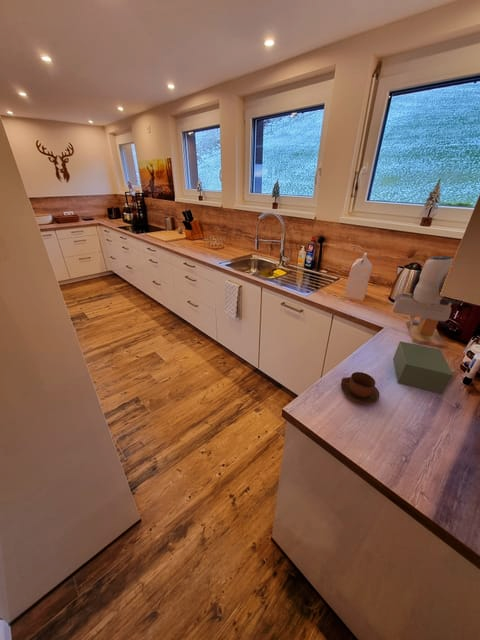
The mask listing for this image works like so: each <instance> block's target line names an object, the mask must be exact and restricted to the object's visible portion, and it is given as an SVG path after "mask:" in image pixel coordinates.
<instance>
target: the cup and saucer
mask: <svg viewBox="0 0 480 640" xmlns="http://www.w3.org/2000/svg"><path fill="white" fill-rule="evenodd" d="M340 389H341V391H342V392H343V394H344V395H345V396H346V397H347V398H349V399H350V400H352V401H354V402H356V403H359V404H365V405H366V404H367V405H370V404H375V403H376V402H377V401H378V400H379V399H380V395H381V394H380V392H379V389H378V388H377V387H376V380H375V379H374V377H373V376H371V375H370V374H368V373H365V372H362V371H356V372H355V371H354V372H353V373H351V375H350V376H349V377H346V376H345V377H343V378H341V381H340Z"/></svg>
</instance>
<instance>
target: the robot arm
mask: <svg viewBox="0 0 480 640" xmlns="http://www.w3.org/2000/svg"><path fill="white" fill-rule="evenodd" d="M453 259H454V257H452V256H449V255H435V256H431V257H430V258H428V259H427V260H426V261H425V263H424V265H423V267H422V270H421V271H420V274H419V280H418V283H417V284H416V285H415V287H414V290H413V293H410V292H404V291H402V292H398V293H397V294H395V297H394V302H393V304H392V307H391V310H392V313H394V314H396V315H397V314H398V315H404V316H409V319H410V322H411V323H410V325H413V326H419V324H420V323H421V322H423V321H424V320H425V318H427V319H432V320H438V321H439V322H446V321H448V320H449V318H450V316H451V313H452V307H451V306H452V305H453V304H456V305H458V304H460V305H461V304H464V302H460V301H456V300H452V299H448V298H444V297H441V296H440V292H441V289H442V287H443V284H444V281H445V278H446V276H447V273H448V271H449V268H450V266H451V264H452V261H453ZM415 318H419V319H418V320H414V319H415Z"/></svg>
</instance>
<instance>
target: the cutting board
mask: <svg viewBox="0 0 480 640" xmlns="http://www.w3.org/2000/svg"><path fill="white" fill-rule="evenodd" d="M410 323H411V321H407V322H406V327H407V329H408V332H409V335H410V338H411V341H412V342H413V343H416V344H421V345H426V346H430V347H436V348H441V349H444V348H445V347H446V344H445V342H444V341H443V339H442V337H441V335H440V333H439V331H438V329H437V327H436V328H435V330H434V333H433V335H432V336H429V335H424V334H420V333H419V331H418V327H419V326H413V325H410Z"/></svg>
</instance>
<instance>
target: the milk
mask: <svg viewBox="0 0 480 640" xmlns="http://www.w3.org/2000/svg"><path fill="white" fill-rule="evenodd" d="M367 256H368V252H364V253H363V255H362V257H361V258H357V259H356V260H355V261H354V262H353V263H352V265H351V267H350V270H349V274H348V277H347V281H346V285H345V289H344V292H343V295H342V297H343V298H348V299H352V300H358V301H361V302H362V301H364V300H365V298H366V295H367V290H368V287H369V282H370V277H371V273H372V269H373V265H372V263H371V261H370V260H369V259H368V258H367Z"/></svg>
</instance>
